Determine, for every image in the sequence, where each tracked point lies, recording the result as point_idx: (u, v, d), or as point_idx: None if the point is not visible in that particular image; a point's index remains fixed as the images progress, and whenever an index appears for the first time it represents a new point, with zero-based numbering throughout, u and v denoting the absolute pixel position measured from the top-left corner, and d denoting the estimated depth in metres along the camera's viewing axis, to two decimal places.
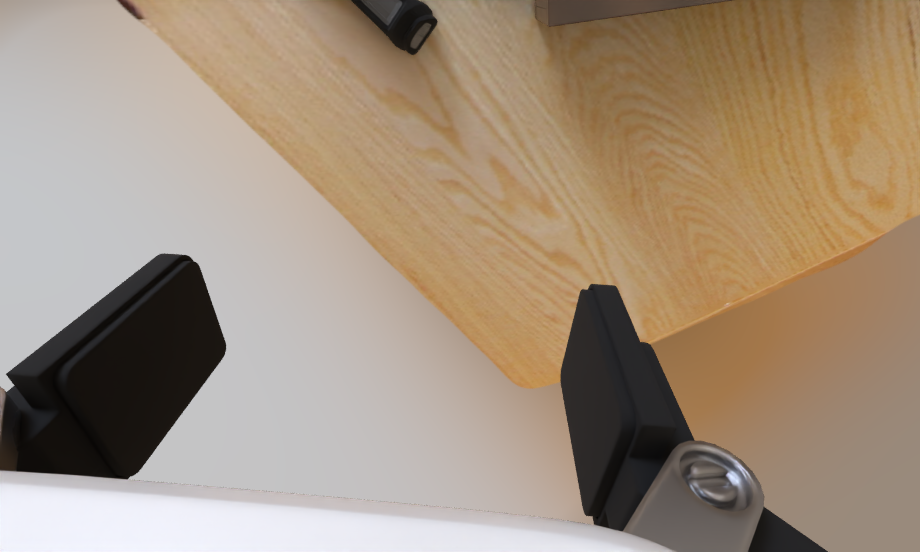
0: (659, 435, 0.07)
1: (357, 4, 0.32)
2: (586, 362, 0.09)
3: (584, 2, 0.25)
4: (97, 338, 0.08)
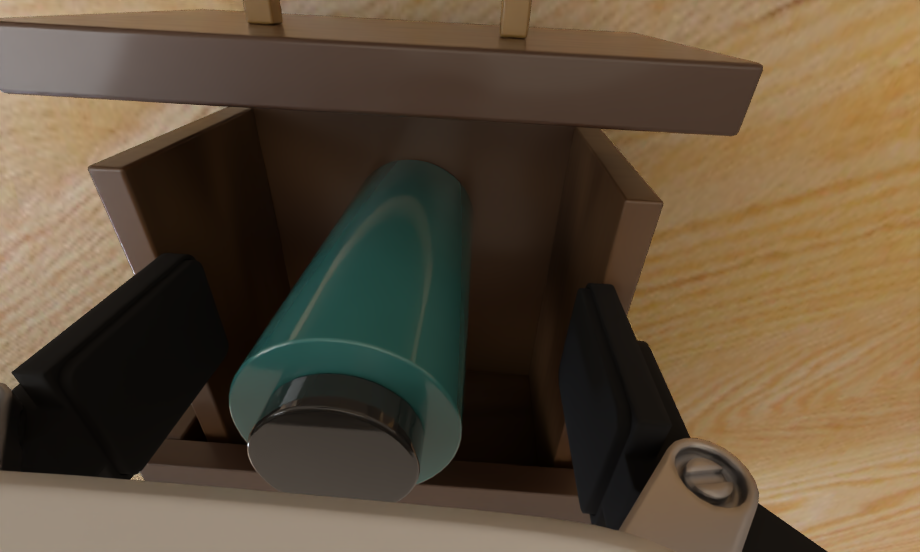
0: (655, 432, 0.07)
1: None
2: (583, 360, 0.09)
3: None
4: (101, 337, 0.08)
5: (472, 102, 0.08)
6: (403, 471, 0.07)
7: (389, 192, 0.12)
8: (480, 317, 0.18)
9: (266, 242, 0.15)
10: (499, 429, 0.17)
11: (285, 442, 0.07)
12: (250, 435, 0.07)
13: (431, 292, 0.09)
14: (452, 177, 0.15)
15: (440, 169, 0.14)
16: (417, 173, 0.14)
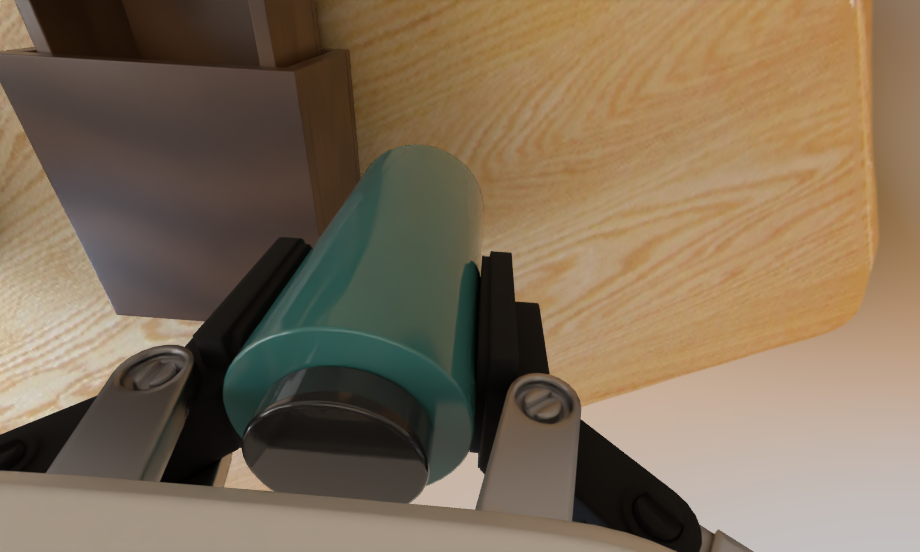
0: (507, 368, 0.08)
1: None
2: None
3: None
4: (254, 308, 0.08)
5: None
6: (410, 472, 0.07)
7: (395, 176, 0.11)
8: None
9: None
10: None
11: (283, 440, 0.07)
12: (245, 433, 0.07)
13: (441, 280, 0.08)
14: (461, 163, 0.14)
15: (449, 154, 0.14)
16: (424, 158, 0.13)
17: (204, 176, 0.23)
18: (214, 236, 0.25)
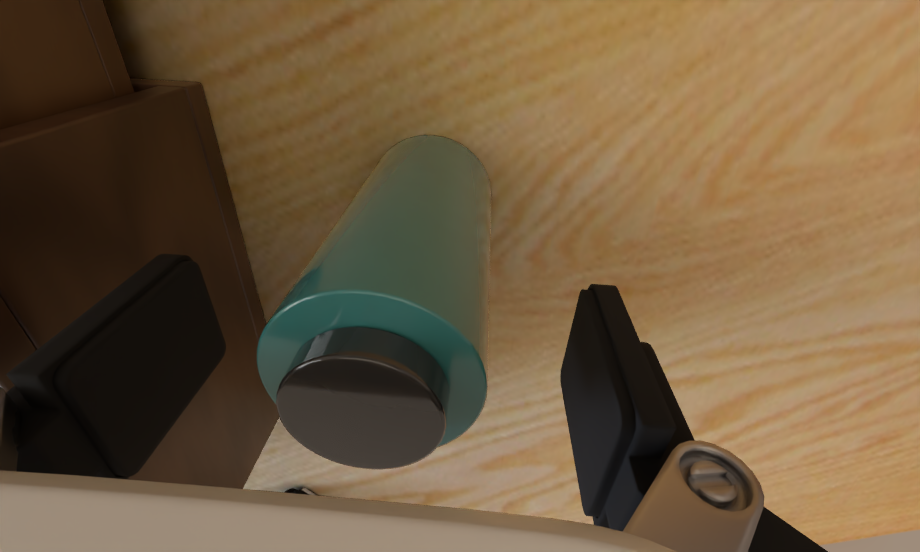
0: (659, 435, 0.07)
1: None
2: (586, 362, 0.09)
3: None
4: (97, 338, 0.08)
5: None
6: (429, 425, 0.07)
7: (410, 163, 0.12)
8: None
9: None
10: None
11: (314, 394, 0.07)
12: (280, 386, 0.07)
13: (456, 255, 0.09)
14: (470, 153, 0.15)
15: (459, 145, 0.14)
16: (436, 147, 0.14)
17: None
18: None
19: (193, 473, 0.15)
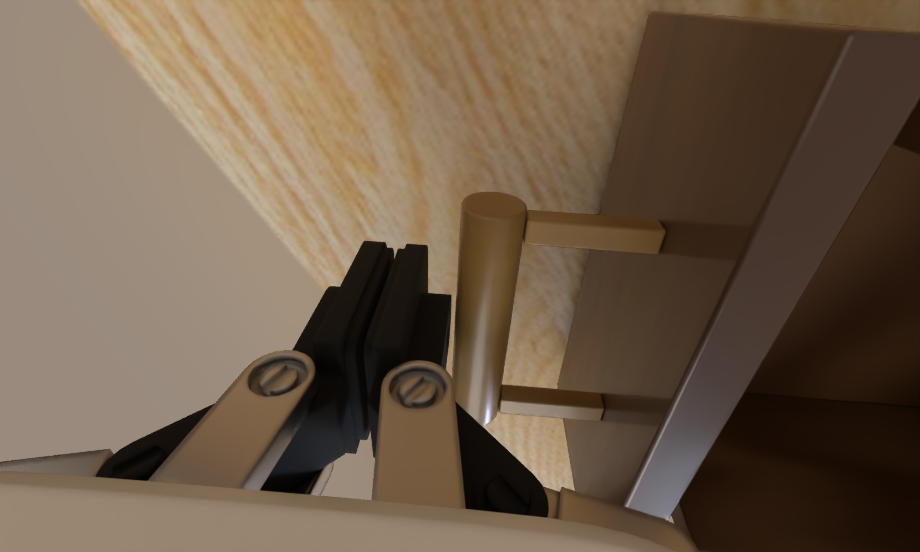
0: (389, 356, 0.08)
1: None
2: None
3: None
4: (360, 313, 0.09)
5: (749, 356, 0.07)
6: None
7: None
8: None
9: (768, 416, 0.15)
10: None
11: None
12: None
13: None
14: None
15: None
16: None
17: None
18: None
19: None
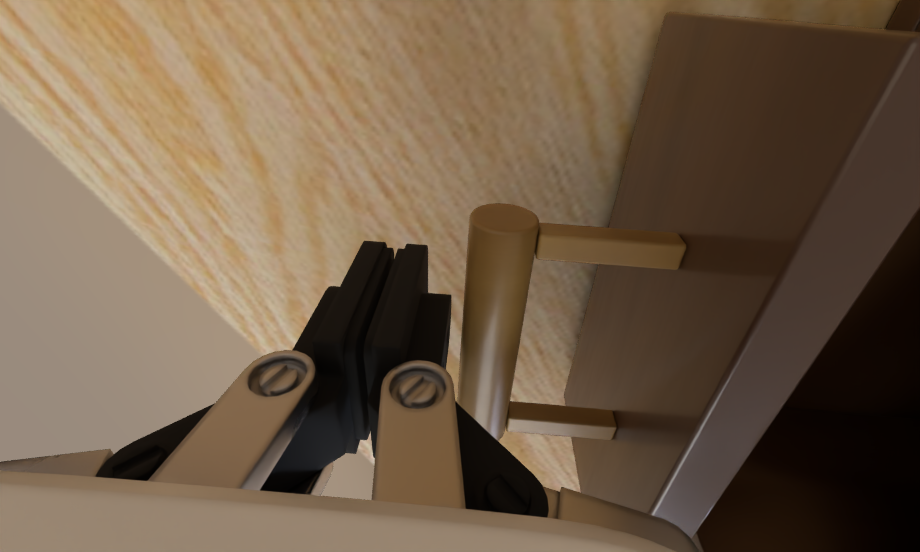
0: (389, 356, 0.08)
1: None
2: None
3: None
4: (359, 313, 0.09)
5: (781, 382, 0.07)
6: None
7: None
8: None
9: (782, 430, 0.15)
10: None
11: None
12: None
13: None
14: None
15: None
16: None
17: None
18: None
19: None
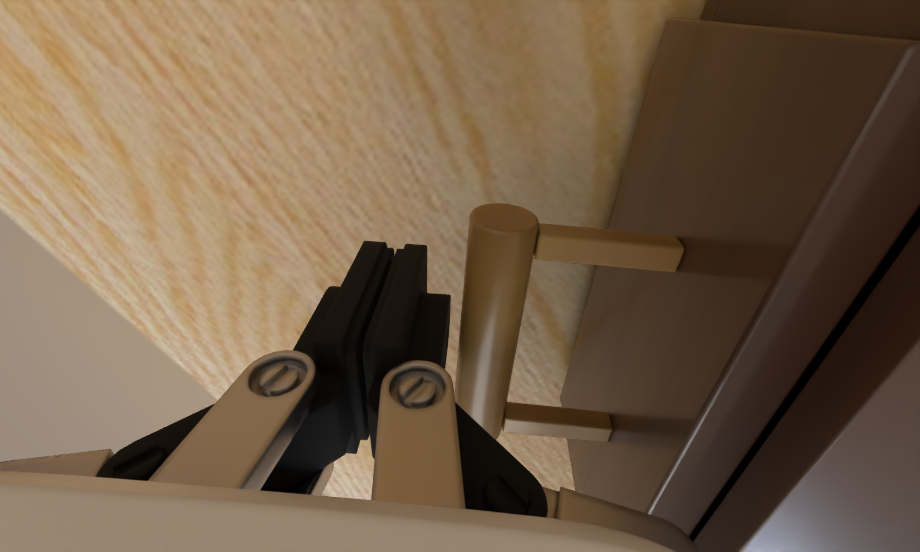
0: (388, 356, 0.08)
1: None
2: None
3: None
4: (360, 313, 0.09)
5: (777, 385, 0.07)
6: None
7: None
8: None
9: None
10: None
11: None
12: None
13: None
14: None
15: None
16: None
17: None
18: None
19: None
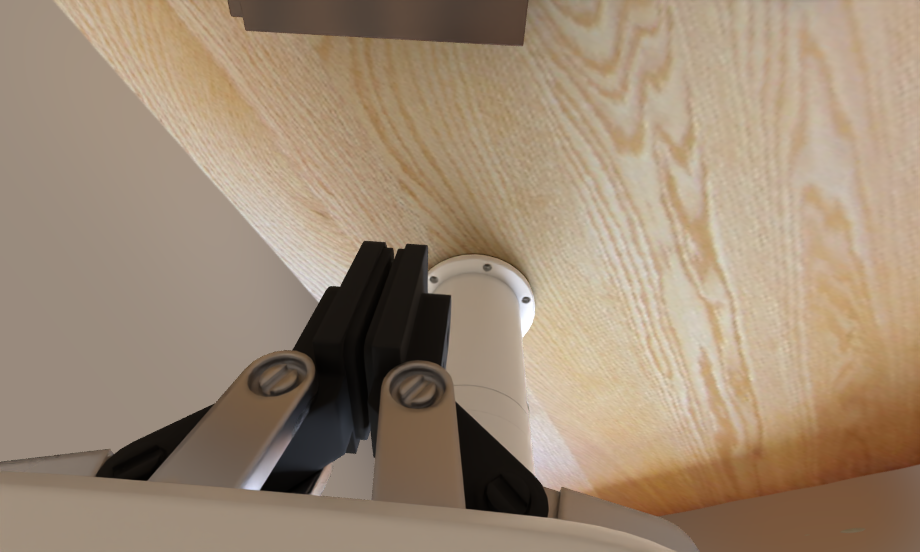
0: (389, 356, 0.08)
1: None
2: None
3: None
4: (360, 313, 0.09)
5: None
6: None
7: None
8: None
9: None
10: None
11: None
12: None
13: None
14: None
15: None
16: None
17: None
18: None
19: None
